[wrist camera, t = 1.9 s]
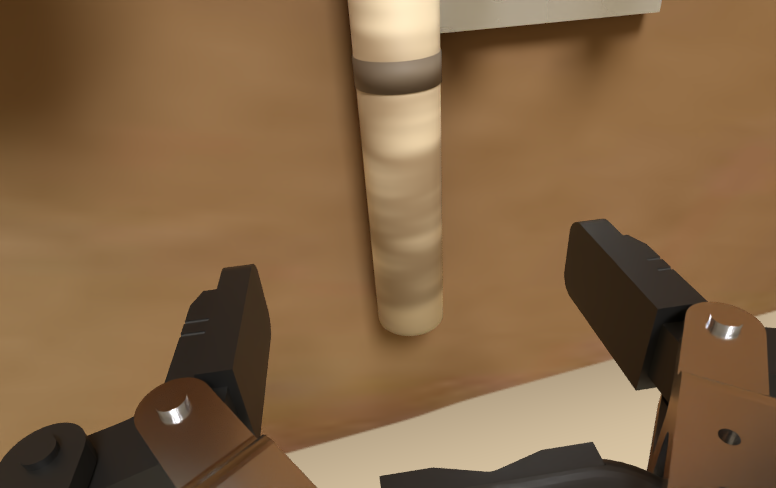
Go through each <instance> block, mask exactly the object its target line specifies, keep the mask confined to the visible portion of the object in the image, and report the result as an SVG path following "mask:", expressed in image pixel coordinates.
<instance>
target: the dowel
mask: <svg viewBox="0 0 776 488" xmlns="http://www.w3.org/2000/svg"><path fill="white" fill-rule="evenodd" d="M348 9H349V19H350V29H351V39H352V50H353V54H352V62H353V73H354V83H355V88H356V91H357V101H358V111H359V122H360V132H361V142H362V152H363V163H364V173H365V183H366V193H367V204H368V214H369V224H370V234H371V245H372V255H373V265H374V276H375V286H376V296H377V306H378V317H379V321H380V323H381V325H382V326H383V327H384V328H385V329H387V330H388V331H390V332H392V333H394V334H398V335H403V336H416V335H421V334H425V333H427V332H430V331H431V330H433V329H434V328H436V327H437V326H438V325H439V324H440V322H441V320H442V317H443V276H442V175H441V82H442V50H441V48H440V0H348Z"/></svg>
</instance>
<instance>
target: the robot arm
mask: <svg viewBox="0 0 776 488" xmlns="http://www.w3.org/2000/svg"><path fill="white" fill-rule="evenodd" d="M564 278H565V285H566V289H567V291H568V294H569V296H570V297H571V299H572V300H573V301H574V303H575V304H576V306H577V307H578V309H579V310H580V311H581V313H582V314H583V316H584V317H585V319H586V320H587V321H588V323H589V324H590V326H591V327H592V329H593V330H594V331H595V333H596V334H597V336H598V337H599V338H600V340H601V341H602V343H603V344H604V346H605V347H606V348H607V350H608V351H609V353H610V354H611V356H612V357H613V358H614V360H615V361H616V363H617V364H618V366H619V367H620V368H621V370H622V371H623V372H624V374H625V376H626V377H627V378H628V380H629V381H630V383H631V384H632V385H633V387H634V388H635V390H642V389H649V388H655V387H657V388H658V390H659V391H660V392H661V396H660V400H659V403H658V408H657V414H656V420H655V426H654V431H653V438H652V444H651V450H650V456H649V462H648V467H647V471H646V470H644V469H641V468H638V467H636V466H633V465H629V464H626V463H623V462H617V461H613V460H607V459H602V458H601V456H600V455H599V453H598V451H597V449H596V447H595V445H594V444H593V442H589V443H583V444H576V445H570V446H564V447H558V448H552V449H545V450H541V451H538V452H536V453H534V454H532V455H529V456H527V457H525V458H523V459H520V460H518V461H516V462H514V463H512V464H509V465H507V466H505V467H503V468H500V469H498V470H495V471H492V472H482V471H469V470H457V469H444V468H428V469H421V470H415V471H409V472H403V473H396V474H390V475H384V476H380V484H381V488H776V328H767V327H764V326H763V325H762V323H761V322H760V321H759V320H758V319H757V318H756V317H754V316H753V315H752V314H750V313H748V312H746V311H745V310H742V309H740V308H738V307H735V306H732V305H729V304H725V303H719V302H708V301H707V300H705V299H704V298H703V297H702V296H701V295H700V294H699V293H698V292H697V291H696V290H695V289H694V288H693V287H692V286H691V285H689V284H688V283H687V282H686V281H685V280H684V279H683V278H682V277H681V276H680V275H679V274H678V273H677V272H676V271H675V270H673V269H672V270H671V268H670V266H669V265H668V264H667V263H666V262H665V261H664V260H663V259H660V256H659V255H657V254H656V253H655V252H654V251H653V250H652V249H651V248H650V247H649V246H648V245H647V244H645V243H643V242H641V241H639V240H637V239H635V238H633V237H631V236H629V235H622V234H621V233H620V232H619V231H618V230H617V229H616V228H615V227H614V226H613V225H612V224H611V223H610V222H609V221H607V220H606V219H597V220H589V221H582V222H575V223H573V224H572V226H571V229H570V234H569V242H568V249H567V257H566V264H565V272H564ZM270 340H271V326H270V318H269V313H268V309H267V305H266V301H265V297H264V293H263V290H262V286H261V282H260V278H259V274H258V271H257V268H256V266H255V265H254V264H250V265H243V266H235V267H227V268H223V269H222V272H221V276H220V279H219V283H218V287H217V289H215V290H208V291H203V292H202V293H201V294H200V296H199V297H198V298H197V299H196V300H195V301H194V302H193V303H192V304H191V305H190V308H189V311H188V314H187V317H186V320H185V324H184V326H183V329H182V332H181V337H180V338H179V341H178V344H177V347H176V350H175V353H174V356H173V359H172V362H171V365H170V368H169V371H168V374H167V377H166V380H165V383H164V384H162V385H160V386H158V387H156V388H155V389H153V390H152V391H151V392H150V393H148V394H147V395H146V396H145V397H144V398H143V399H142V401H141V402H140V403H139V405H138V407H137V409H136V411H135V414H134V417H132V418H130V419H128V420H126V421H124V422H121V423H119V424H116V425H114V426H111V427H109V428H106V429H104V430H101V431H98V432H96V433H93V434H91V435H88V436H87V435H86V434H85V432H84V430H83V429H82V428H81V427H80V426H78V425H76V424H73V423H57V424H53V425H49V426H46V427H44V428H41V429H39V430H37V431H35V432H33V433H31V434H30V435H28V436H26V437H25V438H24V439H22V440H21V441H19V442H18V443H17V444H16V445H15V446H13V448H12V449H11V450H10V451H9V452H8V453H7V454H6V455H5V456H4V458H3V459H2V461H1V462H0V488H317V487H316V486H315V485H314V484H313V483H312V482H311V481H310V480H309V479H308V478H307V477H306V476H305V474H304V473H303V472H302V471H301V470H300V469H299V468H298V467H297V466H296V465H295V464H294V463H293V462H292V461H291V460H290V459H289V458H288V457H287V455H286V454H285V453H284V452H283V451H282V450H281V449H280V448H279V447H278V446H277V445H276V444H275V443H274V442H273V441H272V440H271V439H270V438H269V437H267V436H266V435H261V436H260V433H261V423H262V414H263V405H264V396H265V386H266V377H267V368H268V358H269V349H270Z"/></svg>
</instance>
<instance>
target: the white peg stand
mask: <svg viewBox="0 0 776 488" xmlns="http://www.w3.org/2000/svg"><path fill="white" fill-rule="evenodd" d="M661 2H662V0H440V33H449V32H459V31H469V30H479V29H490V28H500V27H510V26H520V25H531V24H541V23H551V22H561V21H572V20H582V19H592V18H602V17H613V16H623V15H633V14H643V13H654V12H660V7H661Z"/></svg>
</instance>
